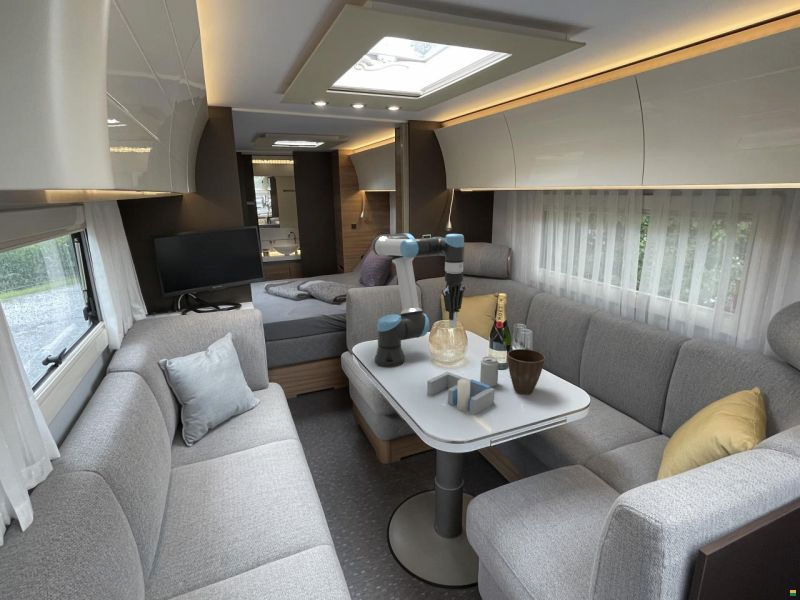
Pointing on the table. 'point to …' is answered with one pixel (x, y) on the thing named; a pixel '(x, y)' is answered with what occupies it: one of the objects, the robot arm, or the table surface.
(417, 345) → the table surface
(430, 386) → the folding screen
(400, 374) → the table surface
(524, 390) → the plant pot
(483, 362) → the can
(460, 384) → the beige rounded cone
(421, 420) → the table surface
